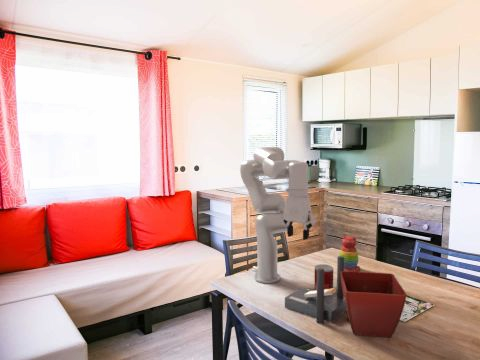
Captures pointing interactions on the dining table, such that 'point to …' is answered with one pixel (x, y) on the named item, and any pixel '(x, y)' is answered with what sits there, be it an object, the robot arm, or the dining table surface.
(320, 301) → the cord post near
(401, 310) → the plant pot
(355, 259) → the stacking bear
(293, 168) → the robot arm
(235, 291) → the dining table surface
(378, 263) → the dining table surface
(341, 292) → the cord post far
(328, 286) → the canned food
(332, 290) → the paddle
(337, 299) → the breaker panel
